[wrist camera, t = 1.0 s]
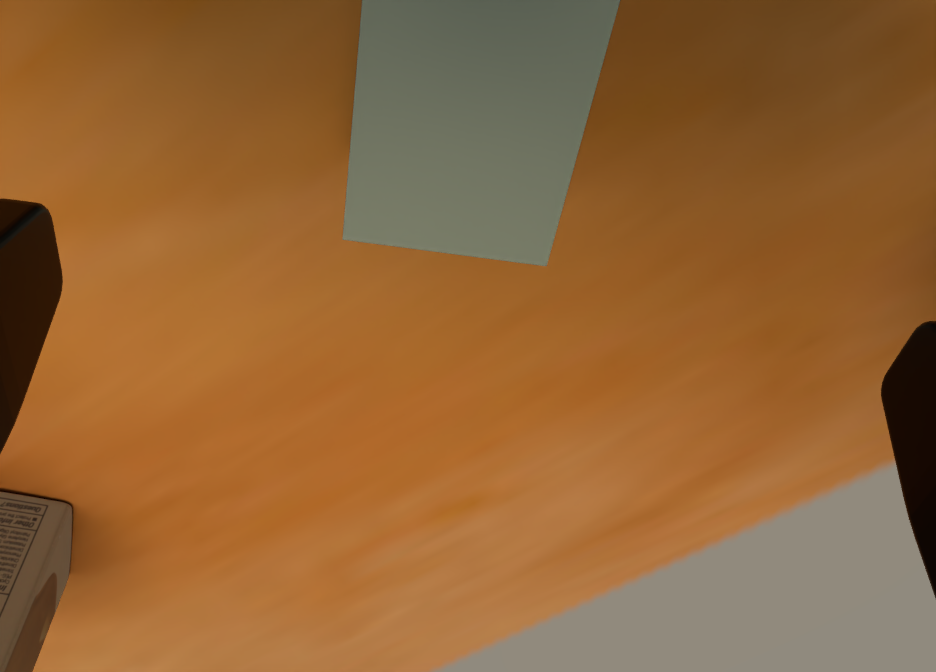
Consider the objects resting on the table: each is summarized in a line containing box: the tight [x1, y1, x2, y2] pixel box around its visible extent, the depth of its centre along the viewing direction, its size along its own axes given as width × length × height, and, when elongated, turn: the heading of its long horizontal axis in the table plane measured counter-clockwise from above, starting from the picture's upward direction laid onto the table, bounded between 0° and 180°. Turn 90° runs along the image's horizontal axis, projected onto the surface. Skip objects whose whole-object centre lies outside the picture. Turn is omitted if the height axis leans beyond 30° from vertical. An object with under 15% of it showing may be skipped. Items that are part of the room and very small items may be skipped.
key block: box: [343, 0, 620, 266], centre depth 15 cm, size 4×8×4 cm, turn 171°
